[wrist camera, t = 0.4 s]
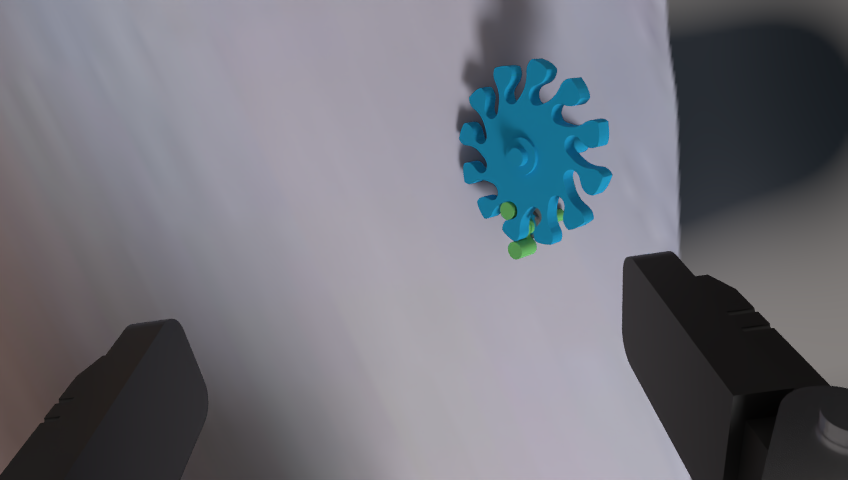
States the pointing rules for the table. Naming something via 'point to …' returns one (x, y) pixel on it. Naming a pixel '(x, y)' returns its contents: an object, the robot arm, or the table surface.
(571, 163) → the gear
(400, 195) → the table surface
